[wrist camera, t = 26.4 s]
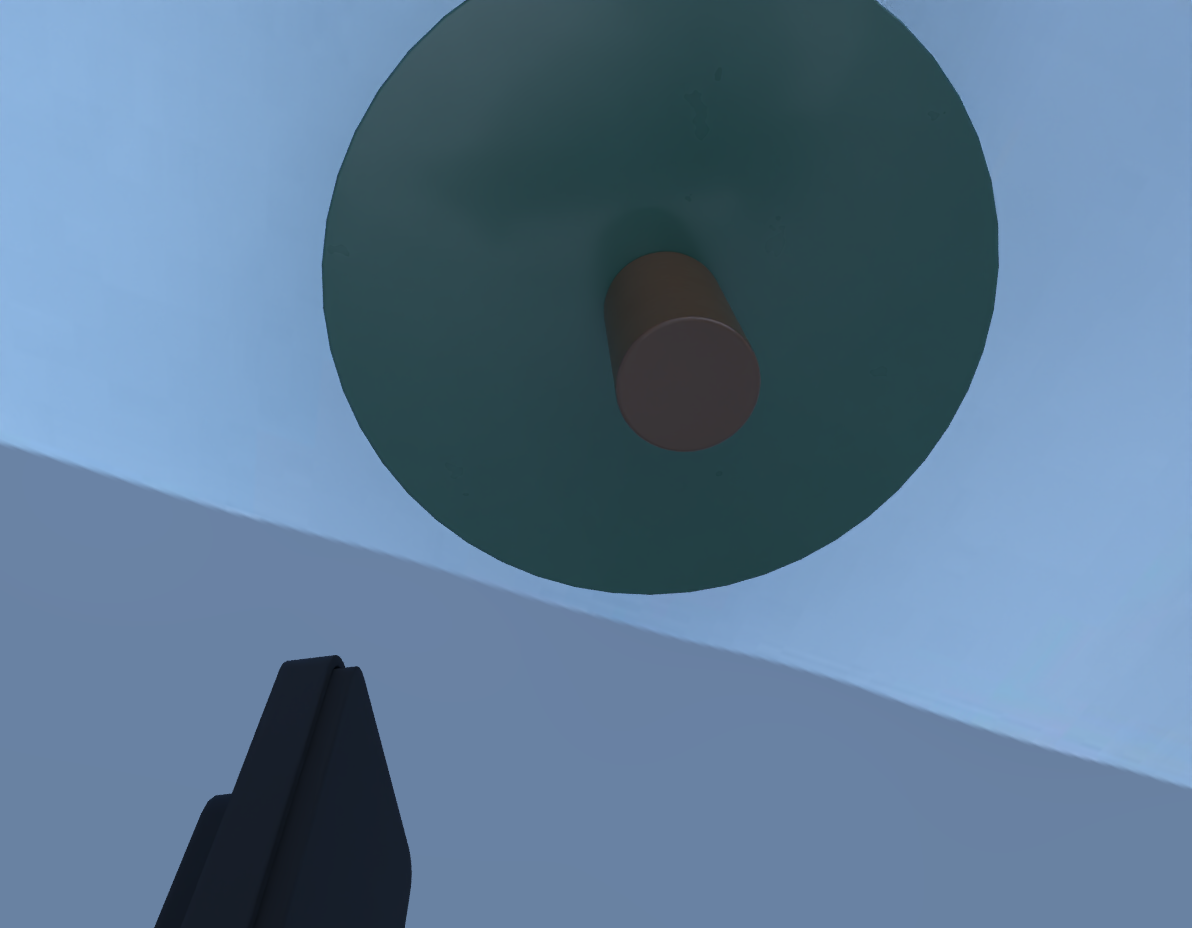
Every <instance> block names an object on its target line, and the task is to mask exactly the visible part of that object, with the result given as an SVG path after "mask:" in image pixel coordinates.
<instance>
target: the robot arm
mask: <svg viewBox="0 0 1192 928" xmlns="http://www.w3.org/2000/svg"><path fill="white" fill-rule="evenodd" d="M411 875H412V871H411V858H410V852H409V847H408V843H407V839H406V836H405V832H404V828H403V825H402V820H401V817H400V813H399V809H398V806H397V801H396V797H395V794H394V790H393V786H392V782H391V778H390V775H389V771H388V767H387V763H386V760H385V756H384V752H383V748H382V745H381V740H380V737H379V733H378V729H377V725H376V721H375V718H374V714H373V711H372V706H371V702H370V699H369V695H368V691H367V687H366V683H365V680H364V677H363V673H362V671H361V669H360V668H359V667H357V666H356V667H347V668H345V666H344V663H343V661H342V659H341V658H340V657H339V656H337V655H333V656H325V657H316V658H308V659H300V660H291V661H286V662H284V663H283V664H282V666H281V668H280V670H279V672H278V675H277V678H276V680H275V683H274V685H273V688H272V691H271V693H270V696H269V698H268V702H267V704H266V706H265V709H264V711H263V714H262V717H261V719H260V722H259V724H258V727H257V730H256V732H255V735H254V738H253V740H252V743H251V745H250V748H249V751H248V753H247V756H246V758H245V761H244V764H243V766H242V769H241V771H240V774H239V777H238V779H237V782H236V785H235V787H234V790H233V792H232V794H224V795H216V796H214V797H213V798H212V799H210V800H209V801H208V802H207V804H206V806H205V808H204V809H203V811H202V813H201V815H200V818H199V820H198V823H197V825H196V827H195V830H194V832H193V835H192V837H191V840H190V842H189V844H188V847H187V849H186V852H185V854H184V857H183V859H182V861H181V864H180V867H179V869H178V871H177V874H176V876H175V879H174V881H173V884H172V886H171V888H170V891H169V893H168V896H167V898H166V900H165V903H164V905H163V908H162V910H161V913H160V915H159V917H158V920H157V922H156V925H155V927H154V928H405V922H406V915H407V909H408V902H409V895H410V889H411Z"/></svg>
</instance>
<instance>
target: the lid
mask: <svg viewBox="0 0 1192 928" xmlns="http://www.w3.org/2000/svg"><path fill="white" fill-rule="evenodd" d="M998 268H999V257H998V220H997V214H996V207H995V201H994V194H993V188H992V181H991V177H990V174H989V171H988V167H987V164H986V161H985V157H984V154H983V151H982V147H981V144H980V141H979V137H978V135H977V133H976V131H975V129H974V127H973V124H972V122H971V120H970V118H969V116H968V114H967V112H966V109H965V107H964V105H963V103H962V101H961V99H960V97H959V95H958V93H957V92H956V90H955V89H954V87H953V86H952V84H951V83H950V81H949V80H948V78H947V77H946V75H945V74H944V72H943V71H942V69H941V67H940V66H939V64H938V63H937V61H936V60H935V58H934V57H933V56H932V55H931V54H930V53H929V51H928V50H927V49H926V48H925V47H924V46H923V45H922V44H921V42H920V41H919V40H918V39H917V38H916V37H915V36H914V35H913V34H912V32H911V31H910V30H909V29H908V28H907V27H906V26H905V25H904V23H903V22H901V21H900V20H899V19H898V18H897V17H895V16H894V15H893V14H892V13H891V12H889V11H888V10H887V9H886V8H885V7H883V6H882V5H881V4H880V3H878V2H877V1H876V0H466V1H464V2H463V3H462V4H460V5H459V6H457V7H456V8H455V9H453V10H452V11H451V12H449V13H448V14H447V15H445V16H444V17H443V18H442V19H441V20H440V21H439V22H438V23H437V24H436V25H435V26H434V27H433V28H432V29H431V30H430V31H429V32H428V33H427V34H426V35H424V36H423V37H422V38H421V39H420V40H419V41H418V42H417V43H416V44H415V45H414V46H413V47H412V48H411V49H410V50H409V51H408V52H407V54H406V55H405V56H404V58H403V59H402V60H401V62H400V63H399V64H398V65H397V67H396V68H395V69H394V71H393V72H392V73H391V74H390V76H389V77H388V78H387V80H386V81H385V82H384V84H383V85H382V86H381V87H380V89H379V90H378V92H377V94H376V95H375V97H374V99H373V101H372V102H371V104H370V106H369V108H368V109H367V111H366V113H365V115H364V116H363V118H362V120H361V122H360V123H359V125H358V127H357V129H356V130H355V132H354V135H353V138H352V140H351V143H350V145H349V148H348V150H347V153H346V155H345V158H344V160H343V163H342V165H341V168H340V170H339V173H338V175H337V179H336V183H335V187H334V191H333V195H332V200H331V204H330V208H329V212H328V216H327V220H326V230H325V239H324V249H323V258H322V283H323V309H324V315H325V321H326V327H327V333H328V339H329V345H330V350H331V354H332V357H333V360H334V363H335V367H336V370H337V373H338V376H339V379H340V383H341V386H342V389H343V392H344V394H345V396H346V398H347V400H348V402H349V405H350V407H351V409H352V411H353V413H354V415H355V418H356V420H357V422H358V424H359V426H360V428H361V430H362V431H363V433H364V435H365V436H366V438H367V439H368V441H369V442H370V444H371V446H372V447H373V449H374V450H375V452H376V453H377V455H378V457H379V458H380V460H381V461H382V463H383V464H384V465H385V466H386V468H387V469H388V470H389V471H390V472H391V474H392V475H393V476H394V477H395V478H396V480H397V481H398V482H399V483H400V484H401V486H402V487H403V488H404V489H405V490H406V492H407V493H408V494H409V495H410V496H411V497H412V498H414V499H415V500H416V501H417V502H418V503H419V504H420V505H421V506H422V507H423V508H424V509H425V510H426V511H427V512H428V513H430V514H431V515H432V516H433V517H434V518H435V519H436V520H437V521H439V522H440V523H441V524H443V525H444V526H445V527H447V528H448V529H450V530H451V531H452V532H454V533H455V534H456V535H458V536H459V537H461V538H462V539H463V540H465V541H466V542H467V543H469V544H471V545H473V546H474V547H476V548H478V549H480V550H482V551H483V552H485V553H487V554H489V555H491V556H492V557H494V558H496V559H498V560H500V561H501V562H504V563H506V564H508V565H511V566H513V567H516V568H518V569H521V570H523V571H525V572H528V573H530V574H533V575H535V576H538V577H541V578H545V579H548V580H552V581H556V582H559V583H563V584H566V585H570V586H573V587H579V588H585V589H591V590H598V591H604V592H610V593H626V594H647V595H653V594H669V593H684V592H693V591H699V590H704V589H710V588H715V587H721V586H727V585H730V584H734V583H737V582H741V581H744V580H747V579H751V578H754V577H758V576H761V575H765V574H767V573H769V572H772V571H774V570H777V569H779V568H781V567H784V566H786V565H789V564H791V563H793V562H796V561H798V560H801V559H802V558H804V557H806V556H808V555H810V554H811V553H813V552H815V551H817V550H819V549H821V548H822V547H824V546H826V545H828V544H830V543H831V542H833V541H835V540H836V539H838V538H839V537H841V536H842V535H844V534H845V533H846V532H848V531H849V530H851V529H852V528H853V527H855V526H856V525H858V524H859V523H861V522H862V521H863V520H865V519H866V518H868V517H869V516H870V515H871V514H872V513H873V512H874V511H875V510H877V509H878V508H879V507H880V506H881V505H882V504H883V503H884V502H886V501H887V500H888V499H889V498H890V497H891V496H892V495H893V494H895V493H896V492H897V491H898V490H899V489H900V488H901V486H902V485H903V484H904V483H905V482H906V481H907V480H908V479H909V478H910V476H911V475H912V474H913V473H914V472H915V471H916V470H917V469H918V467H919V466H920V465H921V464H922V463H923V462H924V461H925V459H926V458H927V457H928V455H929V454H930V452H931V451H932V449H933V448H934V447H935V445H936V444H937V442H938V441H939V439H940V438H941V437H942V435H943V434H944V432H945V431H946V429H947V428H948V427H949V425H950V423H951V421H952V419H953V417H954V415H955V414H956V412H957V410H958V408H959V406H960V404H961V402H962V401H963V399H964V397H965V395H966V393H967V391H968V389H969V387H970V384H971V381H972V379H973V376H974V374H975V371H976V369H977V366H978V363H979V361H980V358H981V356H982V353H983V350H984V346H985V342H986V338H987V334H988V330H989V326H990V322H991V318H992V314H993V311H994V302H995V294H996V285H997V277H998Z"/></svg>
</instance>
